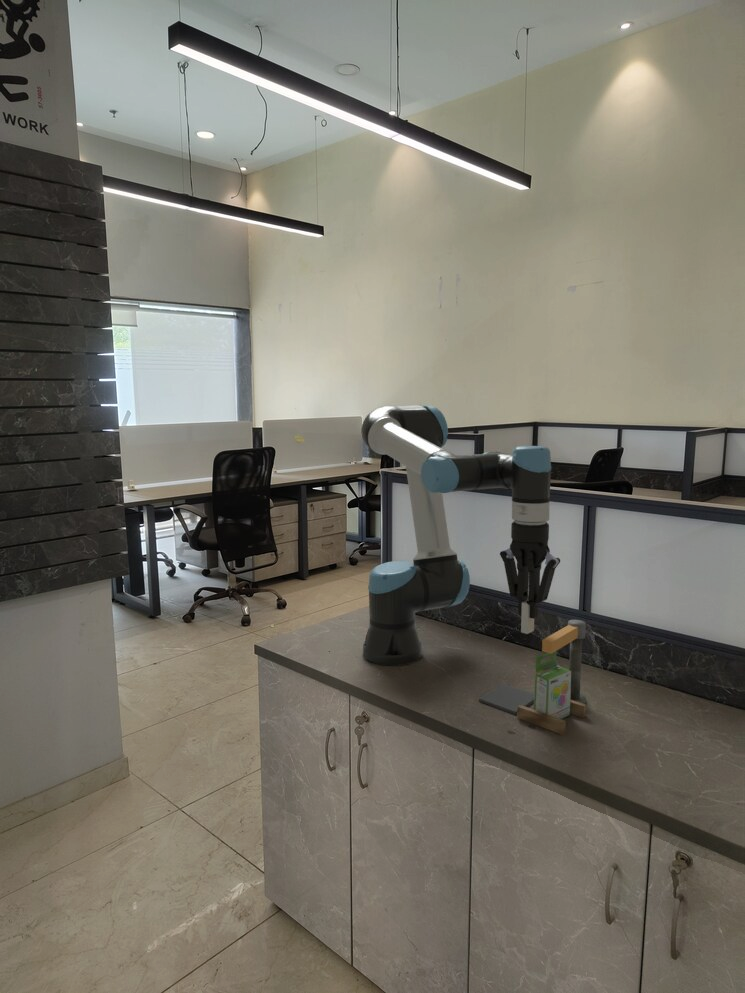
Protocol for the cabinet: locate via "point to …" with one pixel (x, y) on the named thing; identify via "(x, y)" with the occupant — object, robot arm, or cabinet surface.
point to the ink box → (552, 687)
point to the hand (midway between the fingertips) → (527, 631)
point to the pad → (508, 698)
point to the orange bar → (564, 636)
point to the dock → (575, 697)
